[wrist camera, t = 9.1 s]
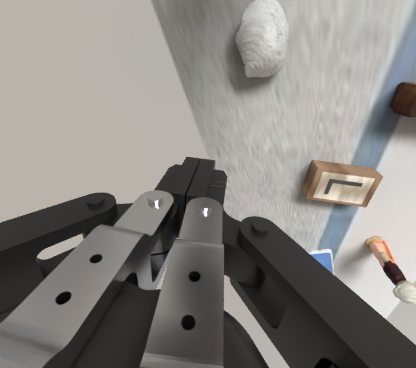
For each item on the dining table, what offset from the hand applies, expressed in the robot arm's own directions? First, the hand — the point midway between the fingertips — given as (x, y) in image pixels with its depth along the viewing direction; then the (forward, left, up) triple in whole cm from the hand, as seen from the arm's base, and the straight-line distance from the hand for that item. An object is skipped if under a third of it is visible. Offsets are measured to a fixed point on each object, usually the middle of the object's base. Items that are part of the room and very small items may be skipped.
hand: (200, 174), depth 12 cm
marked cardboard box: (+12, +16, -26) cm, 32 cm away
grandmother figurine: (+25, +33, -27) cm, 50 cm away
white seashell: (-7, +4, -27) cm, 29 cm away
